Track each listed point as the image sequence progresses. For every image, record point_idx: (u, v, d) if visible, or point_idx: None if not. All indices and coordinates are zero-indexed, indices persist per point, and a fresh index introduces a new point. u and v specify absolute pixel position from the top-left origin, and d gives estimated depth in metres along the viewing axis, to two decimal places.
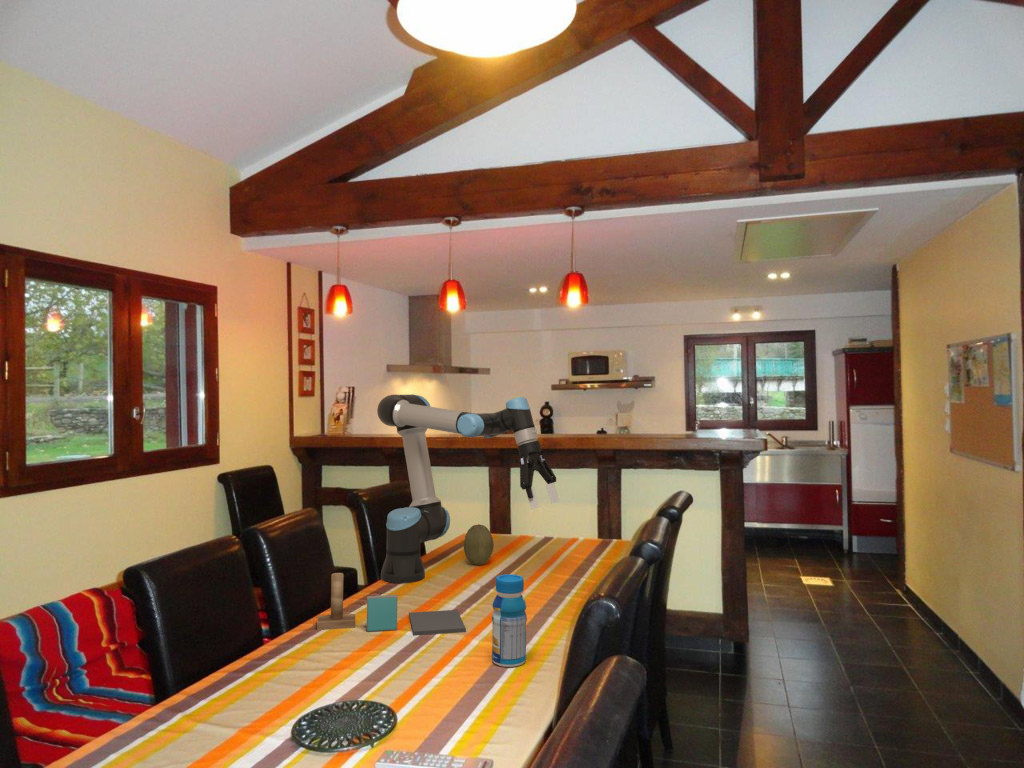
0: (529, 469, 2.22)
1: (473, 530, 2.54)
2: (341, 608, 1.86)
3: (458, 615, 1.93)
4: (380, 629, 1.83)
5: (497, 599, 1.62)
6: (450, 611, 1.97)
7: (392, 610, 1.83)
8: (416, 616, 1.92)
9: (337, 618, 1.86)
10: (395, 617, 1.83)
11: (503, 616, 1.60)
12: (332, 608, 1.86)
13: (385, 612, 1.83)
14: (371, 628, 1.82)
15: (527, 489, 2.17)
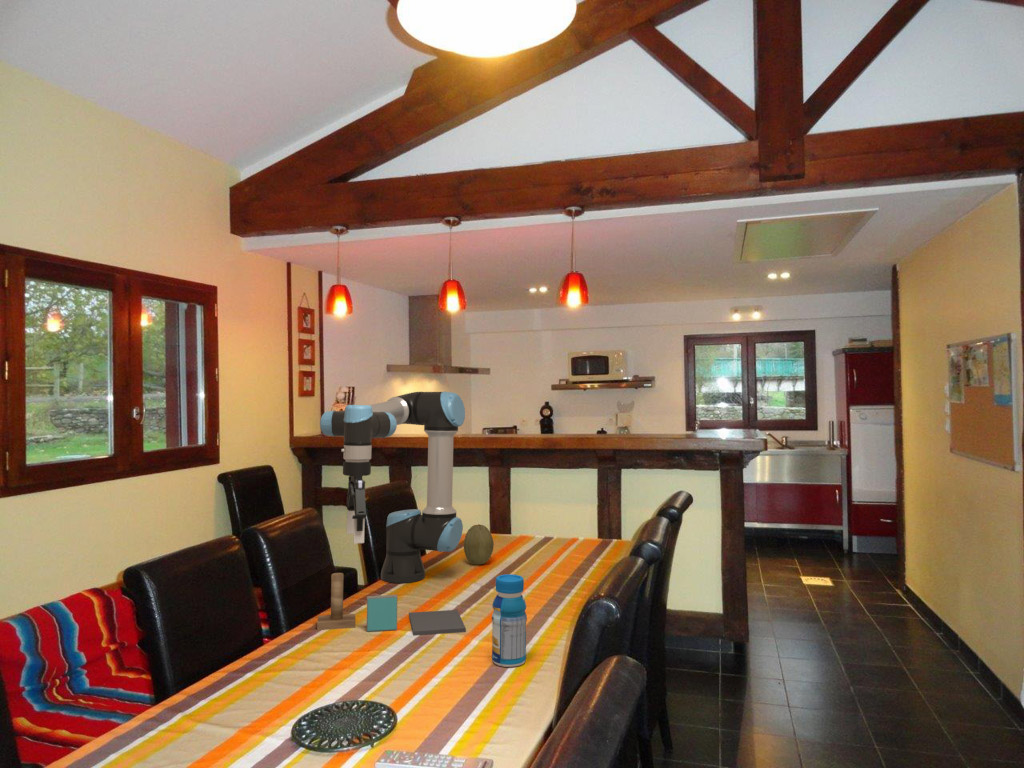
0: None
1: (473, 530, 2.54)
2: (341, 608, 1.86)
3: (458, 615, 1.93)
4: (380, 629, 1.83)
5: (497, 599, 1.62)
6: (450, 611, 1.97)
7: (392, 610, 1.83)
8: (416, 616, 1.92)
9: (337, 618, 1.86)
10: (395, 617, 1.83)
11: (503, 616, 1.60)
12: (332, 608, 1.86)
13: (385, 612, 1.83)
14: (371, 628, 1.82)
15: None
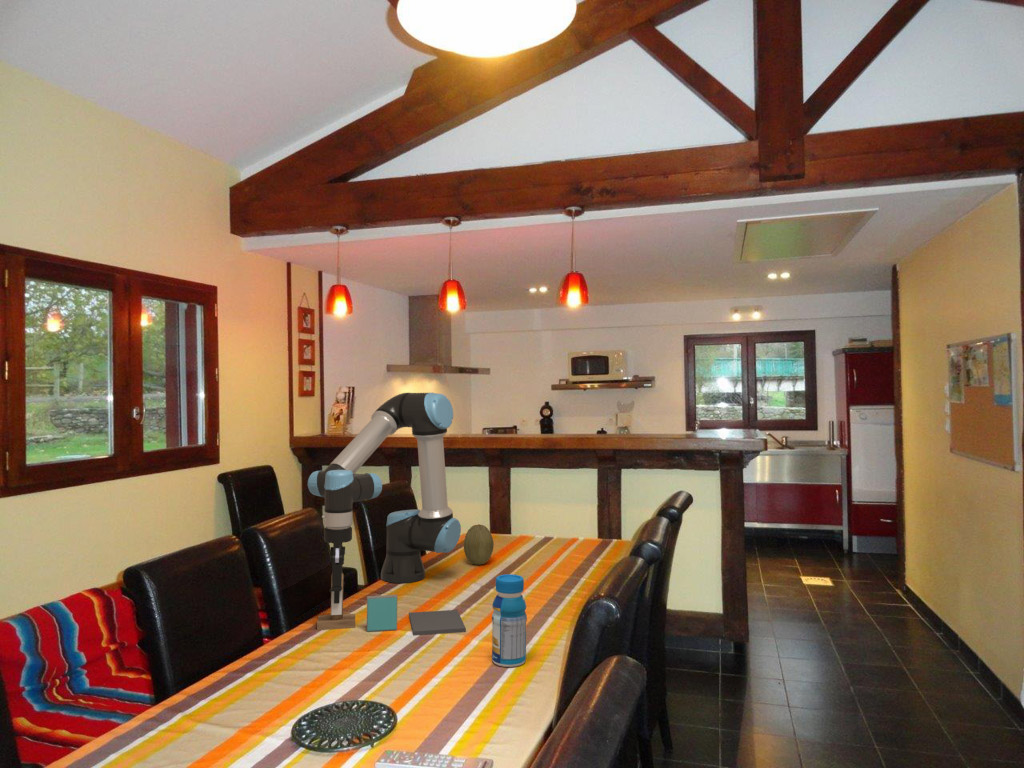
0: None
1: (473, 530, 2.54)
2: None
3: (458, 615, 1.93)
4: (380, 629, 1.83)
5: (497, 599, 1.62)
6: (450, 611, 1.97)
7: (392, 610, 1.83)
8: (416, 616, 1.92)
9: (337, 618, 1.86)
10: (395, 617, 1.83)
11: (503, 616, 1.60)
12: None
13: (385, 612, 1.83)
14: (371, 628, 1.82)
15: None
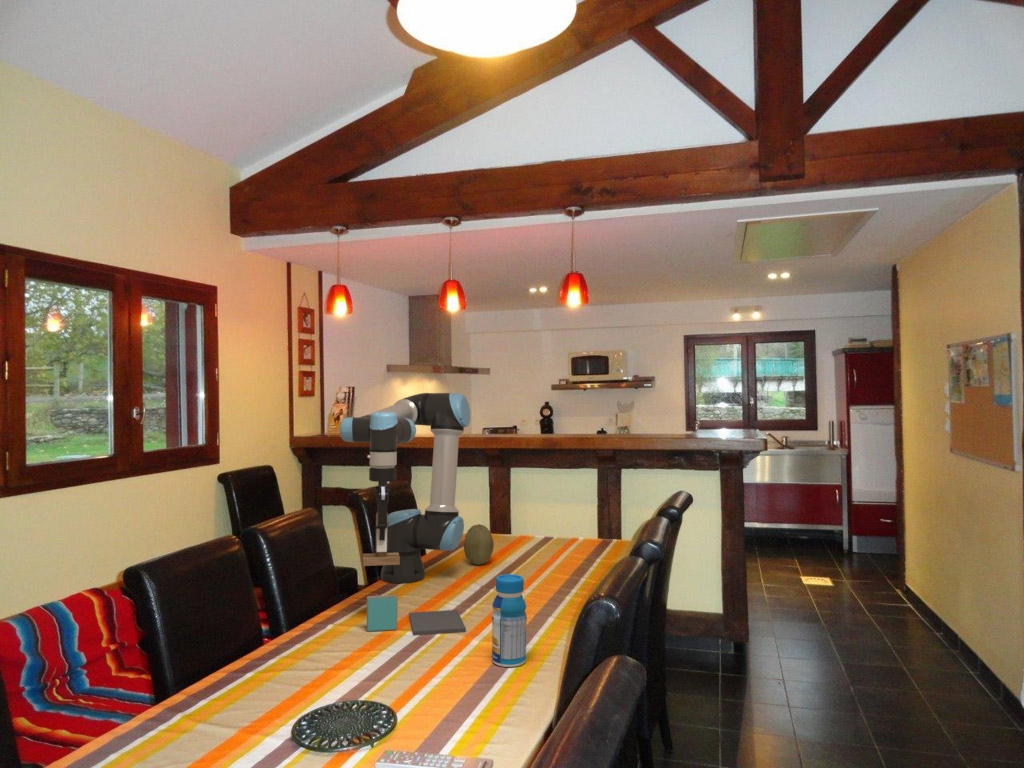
0: None
1: (473, 530, 2.54)
2: None
3: (458, 615, 1.93)
4: (380, 629, 1.83)
5: (497, 599, 1.62)
6: (450, 611, 1.97)
7: (392, 610, 1.83)
8: (416, 616, 1.92)
9: (382, 555, 1.90)
10: (395, 617, 1.83)
11: (503, 616, 1.60)
12: None
13: (385, 612, 1.83)
14: (371, 628, 1.82)
15: None
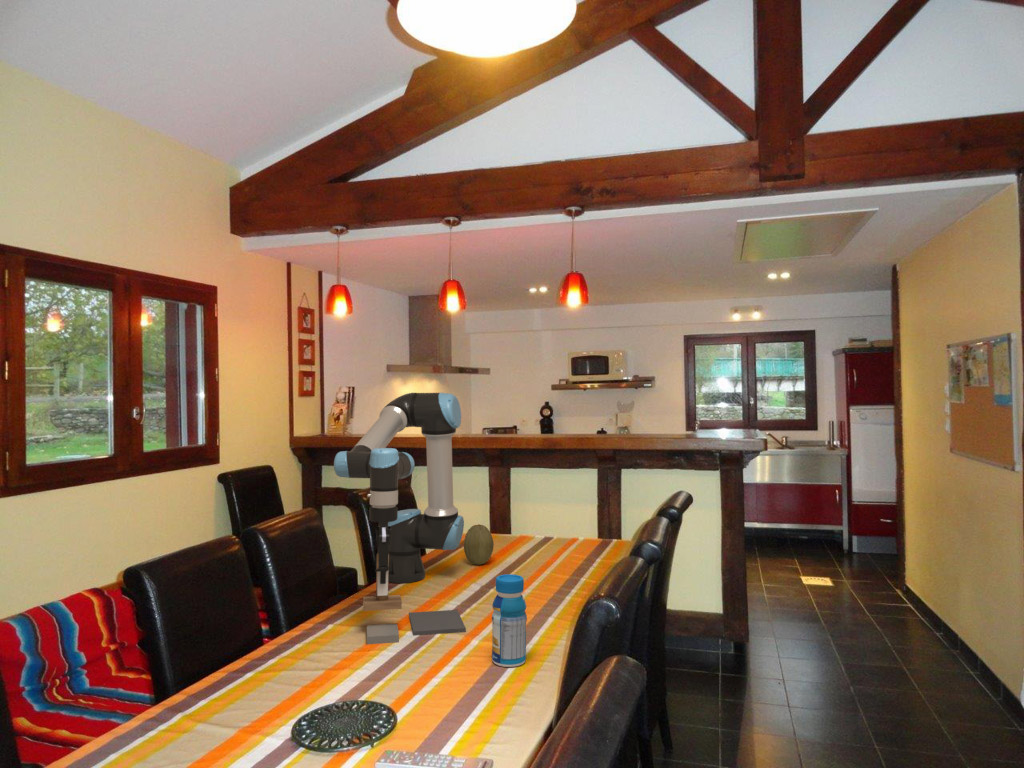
0: None
1: (473, 530, 2.54)
2: None
3: (458, 615, 1.93)
4: None
5: (497, 599, 1.62)
6: (450, 611, 1.97)
7: None
8: (416, 616, 1.92)
9: (383, 599, 1.82)
10: None
11: (503, 616, 1.60)
12: None
13: None
14: None
15: None
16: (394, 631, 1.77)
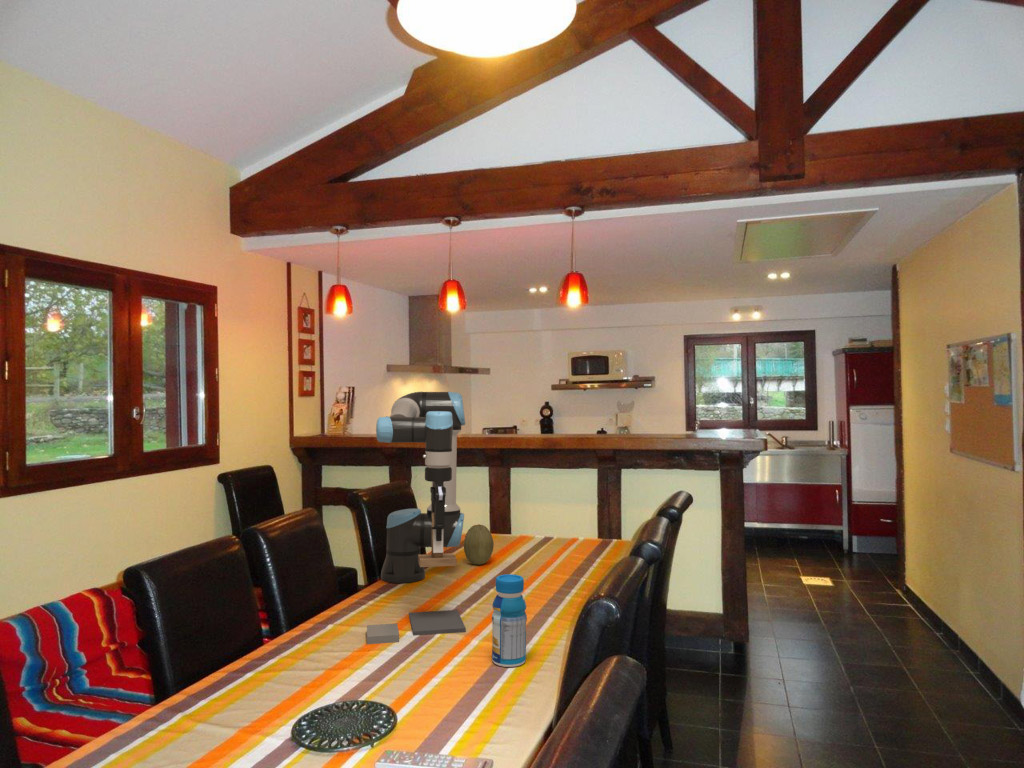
0: None
1: (473, 530, 2.54)
2: None
3: (458, 615, 1.93)
4: None
5: (497, 599, 1.62)
6: (450, 611, 1.97)
7: None
8: (416, 616, 1.92)
9: (438, 556, 1.88)
10: None
11: (503, 616, 1.60)
12: None
13: None
14: None
15: None
16: (394, 631, 1.77)
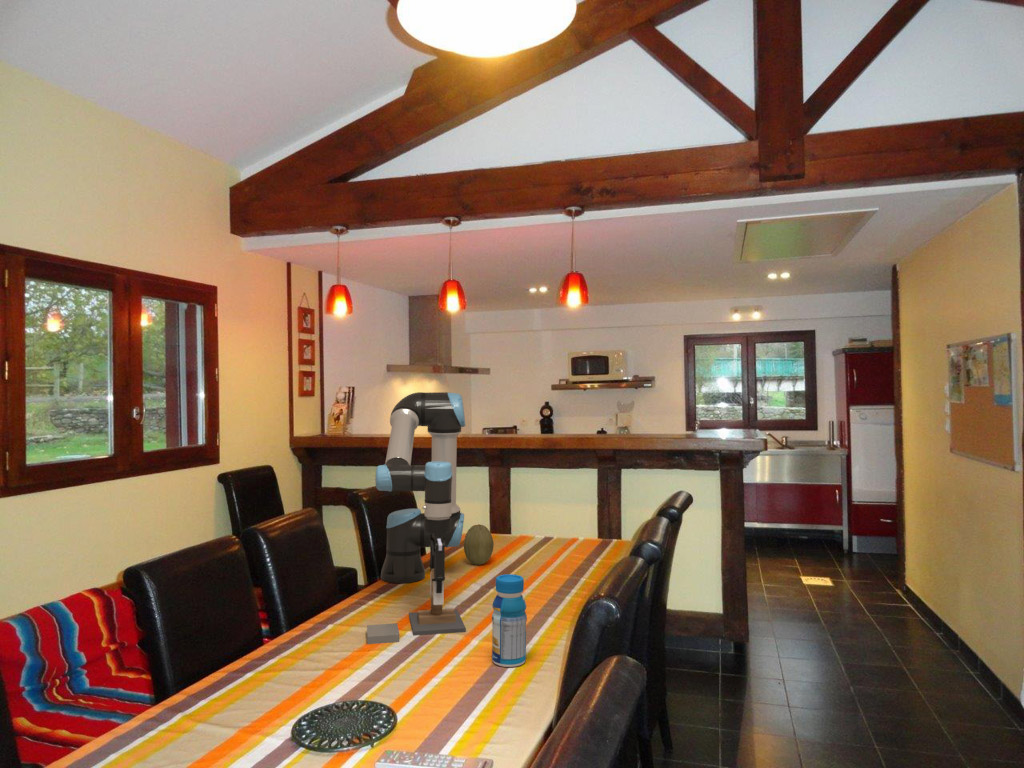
0: None
1: (473, 530, 2.54)
2: None
3: (458, 615, 1.93)
4: None
5: (497, 599, 1.62)
6: None
7: None
8: (416, 616, 1.92)
9: (437, 613, 1.88)
10: None
11: (503, 616, 1.60)
12: (432, 603, 1.88)
13: None
14: None
15: None
16: (395, 631, 1.77)
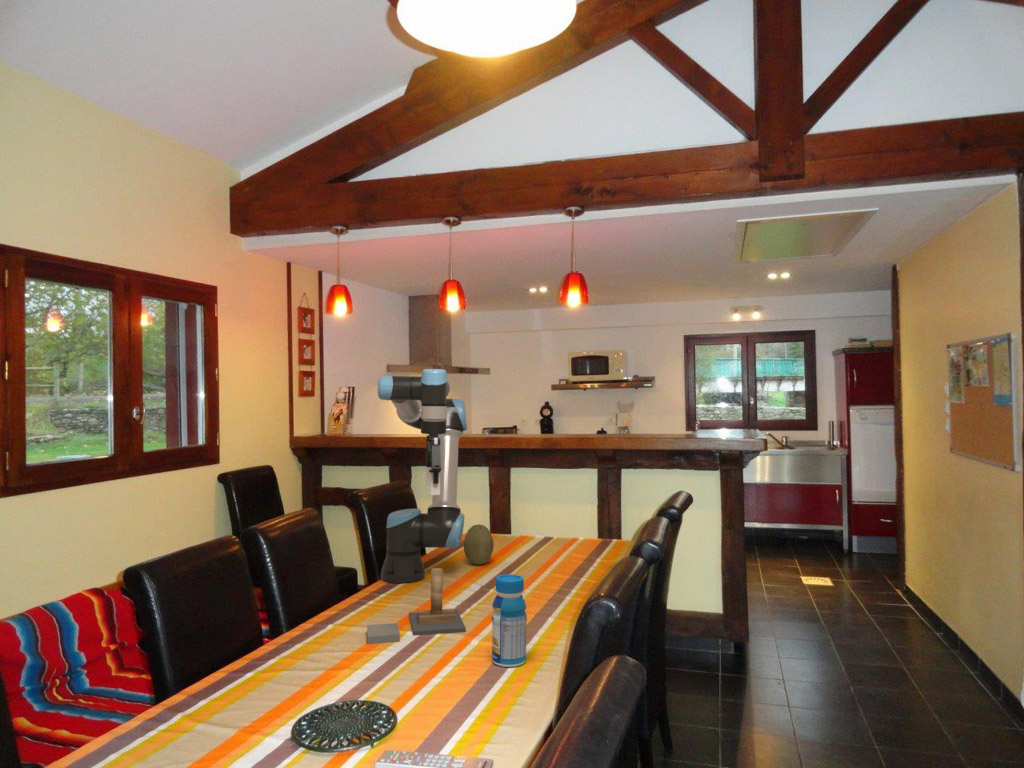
0: None
1: (473, 530, 2.54)
2: (441, 603, 1.89)
3: (458, 615, 1.93)
4: None
5: (497, 599, 1.62)
6: None
7: None
8: (416, 616, 1.92)
9: (437, 613, 1.88)
10: None
11: (503, 616, 1.60)
12: (432, 603, 1.88)
13: None
14: None
15: None
16: (395, 631, 1.77)
